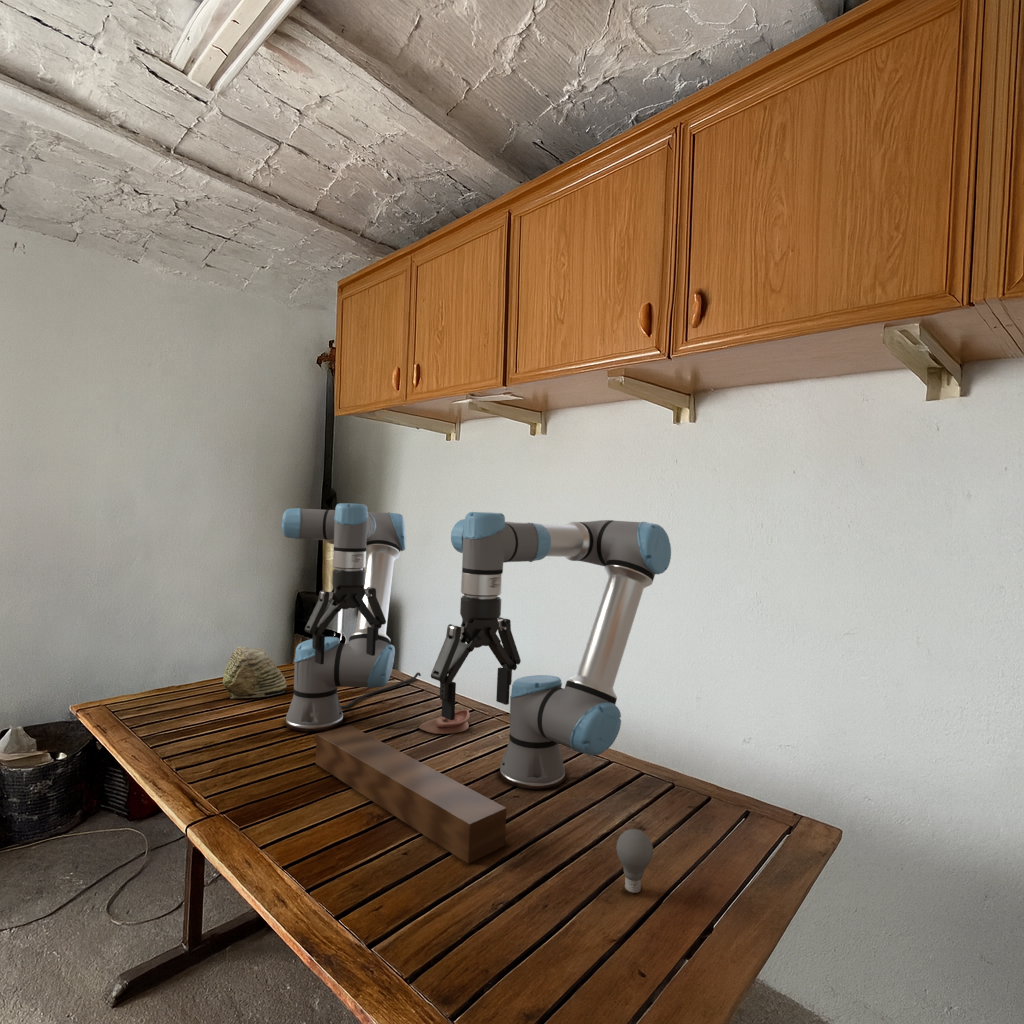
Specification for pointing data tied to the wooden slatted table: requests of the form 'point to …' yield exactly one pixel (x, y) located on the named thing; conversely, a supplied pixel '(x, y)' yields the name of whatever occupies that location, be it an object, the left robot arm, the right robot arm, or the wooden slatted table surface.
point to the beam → (414, 793)
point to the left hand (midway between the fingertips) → (345, 658)
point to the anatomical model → (447, 724)
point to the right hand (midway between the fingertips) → (476, 710)
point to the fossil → (252, 674)
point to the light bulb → (634, 857)
